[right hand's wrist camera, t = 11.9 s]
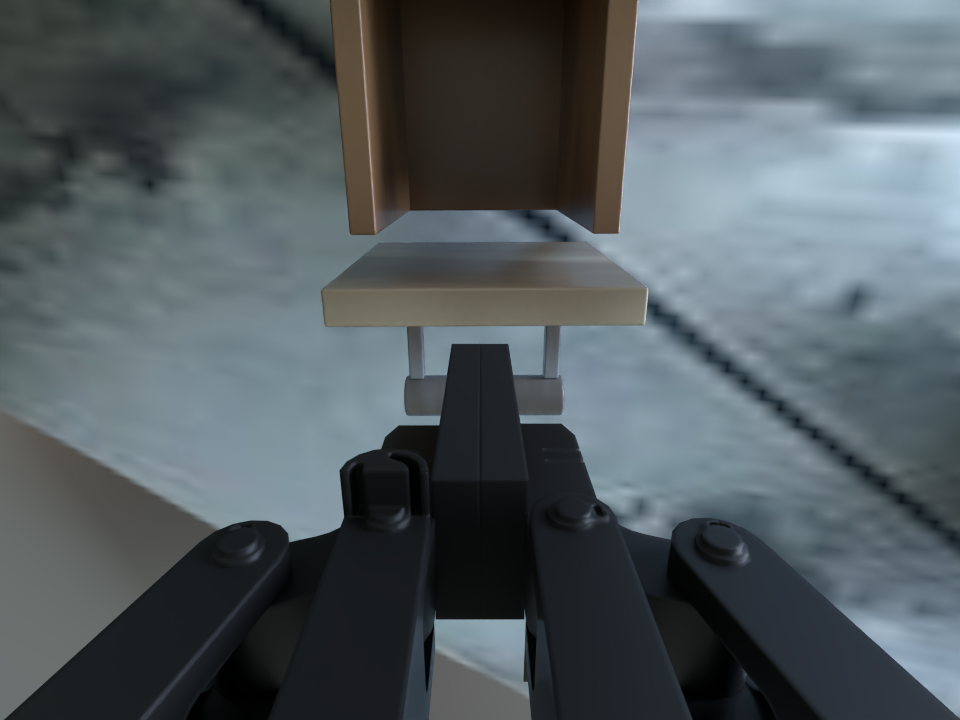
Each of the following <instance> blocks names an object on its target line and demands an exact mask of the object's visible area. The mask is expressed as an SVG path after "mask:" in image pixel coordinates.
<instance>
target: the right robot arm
mask: <svg viewBox="0 0 960 720" xmlns="http://www.w3.org/2000/svg"><path fill="white" fill-rule="evenodd" d="M340 480H341V490H342V500H343V509H344V519H343V522H342V525H341V527H340V528H338V529H336V530H334V531H332V532H329V533H327V534H323V535H320V536H316V537H312V538H307V539H303V540H298V541H293V542H289V538H288V533H287V532H286V531H285V530H284V529H283V528H282V527H281V525H278V524H275V523H272V522H269V521H246V522H240V523H236V524H232V525H230V526H227V527H225V528H222V529H220V530H218V531H215V532H214V533H212V534H211V535H209V536H208V537H207V538H205V539H204V540H202V541H201V542H199V543H198V544H197V545H196V546H195V547H194V548H193V549H192V550H191V551H190V552H188V553H187V554H186V555H185V556H184V557H183V558H182V559H181V560H180V561H179V562H177V563H176V564H175V565H174V566H173V567H172V568H171V569H170V570H169V571H168V572H166V573H165V574H164V575H163V576H162V577H161V578H160V579H159V580H158V581H157V582H155V583H154V584H153V585H152V586H151V587H150V588H149V589H148V590H147V591H146V592H144V593H143V594H142V595H141V596H140V597H139V598H138V599H137V600H136V601H134V602H133V603H132V604H131V605H130V606H129V607H128V608H127V609H126V610H125V611H123V612H122V613H121V614H120V615H119V616H118V617H117V618H116V619H115V620H114V621H112V622H111V623H110V624H109V625H108V626H107V627H106V628H105V629H104V630H103V631H101V632H100V633H99V634H98V635H97V636H96V637H95V638H94V639H93V640H92V641H90V642H89V643H88V644H87V645H86V646H85V647H84V648H83V649H82V650H81V651H79V652H78V653H77V654H76V655H75V656H74V657H73V658H72V659H71V660H69V661H68V662H67V663H66V664H65V665H64V666H63V667H62V668H61V669H60V670H58V671H57V672H56V673H55V674H54V675H53V676H52V677H51V678H50V679H49V680H47V681H46V682H45V683H44V684H43V685H42V686H41V687H40V688H39V689H38V690H36V691H35V692H34V693H33V694H32V695H31V696H30V697H29V698H28V699H27V700H25V701H24V702H23V703H22V704H21V705H20V706H19V707H18V708H17V709H15V710H14V711H13V712H12V713H11V714H10V715H9V716H8V717H7V718H6V719H4V720H429V708H430V697H431V686H432V675H433V664H434V653H435V632H434V619H435V610H436V619H524V610H525V616H526V632H525V659H524V682H528V685H529V697H530V708H531V718H532V720H960V719H959V718H958V717H957V716H956V715H955V714H954V713H953V712H952V711H950V710H949V709H948V708H947V707H946V706H945V705H944V704H943V703H942V702H940V701H939V700H938V699H937V698H936V697H935V696H934V695H933V694H932V693H930V692H929V691H928V690H927V689H926V688H925V687H924V686H923V685H922V684H920V683H919V682H918V681H917V680H916V679H915V678H914V677H913V676H912V675H910V674H909V673H908V672H907V671H906V670H905V669H904V668H903V667H902V666H900V665H899V664H898V663H897V662H896V661H895V660H894V659H893V658H892V657H890V656H889V655H888V654H887V653H886V652H885V651H884V650H883V649H882V648H880V647H879V646H878V645H877V644H876V643H875V642H874V641H873V640H872V639H870V638H869V637H868V636H867V635H866V634H865V633H864V632H863V631H862V630H860V629H859V628H858V627H857V626H856V625H855V624H854V623H853V622H852V621H851V620H849V619H848V618H847V617H846V616H845V615H844V614H843V613H842V612H841V611H839V610H838V609H837V608H836V607H835V606H834V605H833V604H832V603H831V602H829V601H828V600H827V599H826V598H825V597H824V596H823V595H822V594H821V593H819V592H818V591H817V590H816V589H815V588H814V587H813V586H812V585H811V584H809V583H808V582H807V581H806V580H805V579H804V578H803V577H802V576H801V575H799V574H798V573H797V572H796V571H795V570H794V569H793V568H792V567H791V566H789V565H788V564H787V563H786V562H785V561H784V560H783V559H782V558H781V557H779V556H778V555H777V554H776V553H775V552H774V551H773V550H772V549H771V548H769V547H768V546H767V545H766V544H765V543H764V542H763V541H762V540H761V539H759V538H758V537H756V536H755V535H753V534H752V533H750V532H749V531H748V530H746V529H744V528H742V527H739V526H737V525H734V524H732V523H729V522H726V521H722V520H717V519H711V518H695V519H690V520H687V521H684V522H681V523H679V524H678V526H677V527H676V528H675V529H674V530H673V531H672V538H671V540H668V539H664V538H659V537H654V536H650V535H645V534H642V533H638V532H635V531H631V530H629V529H627V528H625V527H622V526H620V525H619V524H618V521H617V518H616V516H615V515H614V513H613V512H612V510H611V509H610V508H609V506H607V505H606V504H604V503H603V502H601V501H600V500H598V499H597V498H596V495H595V492H594V489H593V486H592V483H591V481H590V478H589V475H588V472H587V469H586V466H585V463H584V462H583V457H582V455H581V452H580V451H579V446H578V443H577V440H576V437H575V435H574V434H573V433H572V432H570V431H569V430H568V429H567V428H566V427H564V426H563V425H562V424H520V418H519V411H518V405H517V398H516V392H515V385H514V379H513V372H512V366H511V360H510V353H509V347H508V344H452V347H451V353H450V360H449V366H448V372H447V379H446V385H445V392H444V398H443V405H442V411H441V418H440V424H439V425H399V426H398V427H396V428H395V429H394V430H393V431H392V432H391V433H389V434H388V435H387V436H386V437H385V439H384V442H383V445H382V448H381V449H379V450H372V451H369V452H366V453H362V454H359V455H357V456H356V457H354V458H352V459H350V460H349V461H347V462H346V463H345V464H344V466H343V467H342V468H341V469H340Z"/></svg>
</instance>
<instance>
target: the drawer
mask: <svg viewBox="0 0 960 720" xmlns="http://www.w3.org/2000/svg"><path fill="white" fill-rule="evenodd" d="M638 1H639V0H330V11H331V22H332V34H333V45H334V57H335V68H336V80H337V91H338V103H339V114H340V126H341V137H342V149H343V160H344V172H345V183H346V195H347V206H348V218H349V229H350V234H351V235H375V234H377V233H378V232H380V231H381V230H383V229H384V228H385V227H387V226H388V225H390V224H391V223H393V222H394V221H395V220H397V219H398V218H400V217H401V216H402V215H404V214H405V213H407V212H408V211H425V210H558V211H559V212H561V213H562V214H564V215H565V216H567V217H568V218H570V219H572V220H573V221H575V222H576V223H578V224H579V225H581V226H583V227H584V228H586V229H587V230H589V231H590V232H592V233H594V234H618V233H619V231H620V219H621V207H622V195H623V183H624V171H625V159H626V146H627V134H628V122H629V110H630V98H631V86H632V74H633V62H634V49H635V37H636V25H637V13H638ZM648 291H649V289H648V287H646V286H645V285H644V284H642V283H641V282H640V281H638V280H637V279H636V278H634V277H633V276H632V275H630V274H629V273H628V272H626V271H625V270H624V269H622V268H621V267H620V266H618V265H617V264H616V263H614V262H613V261H612V260H611V259H609V258H608V257H607V256H605V255H604V254H603V253H601V252H600V251H599V250H597V249H596V248H595V247H593V246H592V245H591V244H589V243H588V242H462V243H378V244H377V245H376V246H375V247H373V248H372V249H371V250H370V251H368V252H367V253H366V254H365V255H364V256H362V257H361V258H360V259H359V260H357V261H356V262H355V263H354V264H352V265H351V266H350V267H349V268H348V269H346V270H345V271H344V272H343V273H341V274H340V275H339V276H338V277H336V278H335V279H334V280H333V281H331V282H330V283H329V284H328V285H327V286H325V287H324V288H323V289H322V290H321V296H322V305H323V314H324V323H325V326H327V327H387V326H407V336H408V354H409V373H410V375H409V376H407V377H406V380H405V388H404V404H405V412H406V414H407V415H408V416H441V411H442V405H443V398H444V392H445V385H446V379H447V375H425V358H424V335H423V326H544V353H543V375H513V379H514V385H515V392H516V398H517V405H518V411H519V415H561V414H562V412H563V408H564V385H563V379H562V377H561V375H558V374H559V353H560V333H561V326H586V325H644V324H645V319H646V310H647V300H648Z"/></svg>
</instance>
